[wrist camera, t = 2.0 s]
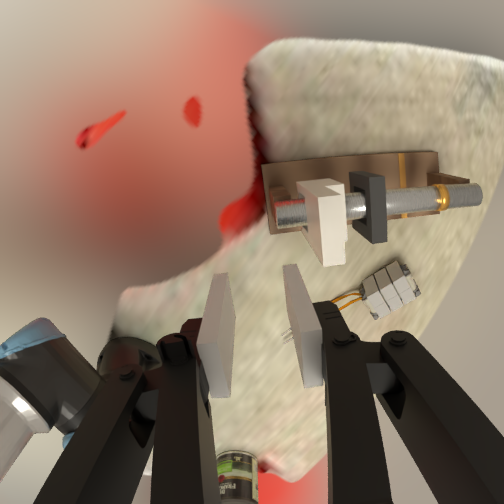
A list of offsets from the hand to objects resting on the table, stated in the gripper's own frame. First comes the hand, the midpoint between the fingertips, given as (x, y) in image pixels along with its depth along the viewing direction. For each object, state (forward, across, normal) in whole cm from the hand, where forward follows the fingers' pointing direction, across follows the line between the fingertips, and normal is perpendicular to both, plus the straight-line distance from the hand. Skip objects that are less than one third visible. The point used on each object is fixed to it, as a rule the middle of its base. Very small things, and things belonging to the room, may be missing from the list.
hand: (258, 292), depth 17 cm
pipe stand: (+31, +16, 0) cm, 34 cm away
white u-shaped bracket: (+22, +7, 0) cm, 23 cm away
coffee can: (+31, -12, -60) cm, 68 cm away
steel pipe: (+20, +16, 0) cm, 26 cm away
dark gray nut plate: (+22, +13, 0) cm, 26 cm away
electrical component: (+31, +13, -20) cm, 39 cm away
